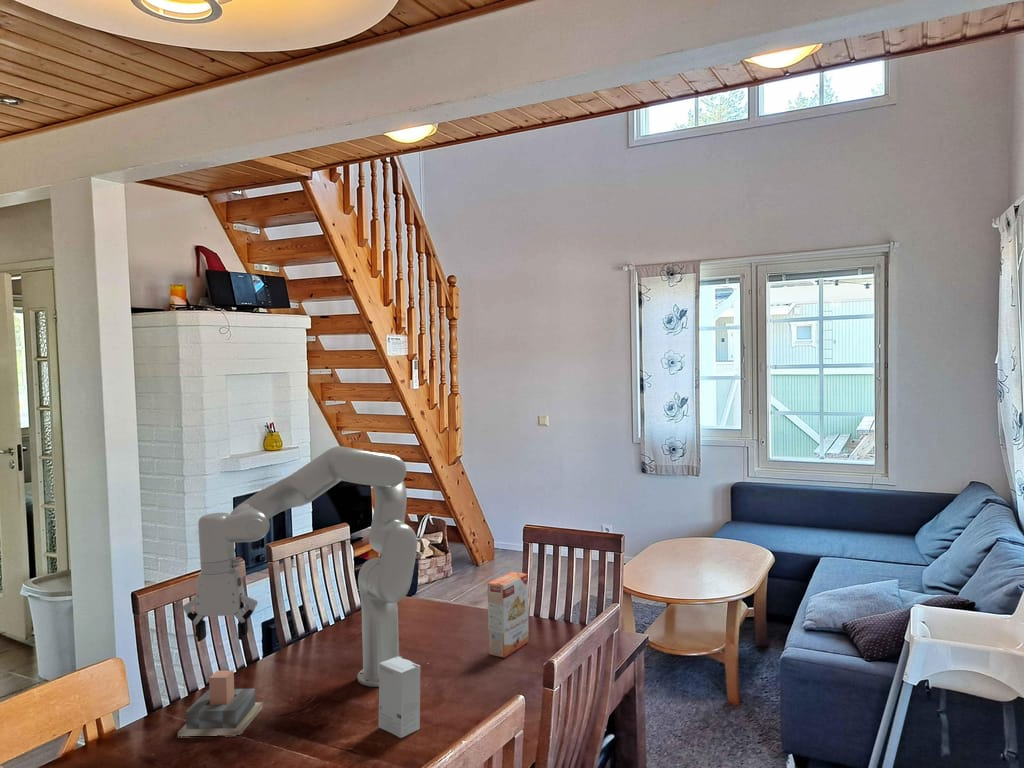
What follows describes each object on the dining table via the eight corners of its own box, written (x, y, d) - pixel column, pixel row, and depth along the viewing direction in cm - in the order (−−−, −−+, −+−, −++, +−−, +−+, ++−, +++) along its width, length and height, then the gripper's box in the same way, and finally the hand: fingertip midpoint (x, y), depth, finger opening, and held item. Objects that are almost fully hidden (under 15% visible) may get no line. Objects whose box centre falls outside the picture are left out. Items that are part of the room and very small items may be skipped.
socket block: (262, 707, 170) (262, 686, 170) (239, 736, 156) (238, 713, 156) (206, 708, 170) (205, 687, 170) (177, 737, 156) (177, 714, 156)
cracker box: (505, 659, 195) (503, 585, 195) (487, 655, 198) (485, 582, 199) (530, 642, 207) (528, 573, 207) (513, 639, 210) (511, 570, 210)
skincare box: (378, 728, 158) (376, 663, 158) (398, 718, 162) (396, 654, 162) (402, 739, 152) (400, 672, 152) (422, 728, 157) (420, 663, 157)
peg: (234, 712, 165) (233, 670, 165) (227, 720, 161) (226, 677, 161) (218, 712, 165) (217, 670, 165) (210, 720, 161) (209, 677, 161)
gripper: (260, 560, 167) (264, 631, 167) (189, 563, 167) (193, 634, 167) (248, 569, 159) (252, 643, 159) (173, 572, 159) (177, 646, 160)
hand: (222, 638), depth 163 cm, fingers open, 9 cm apart
